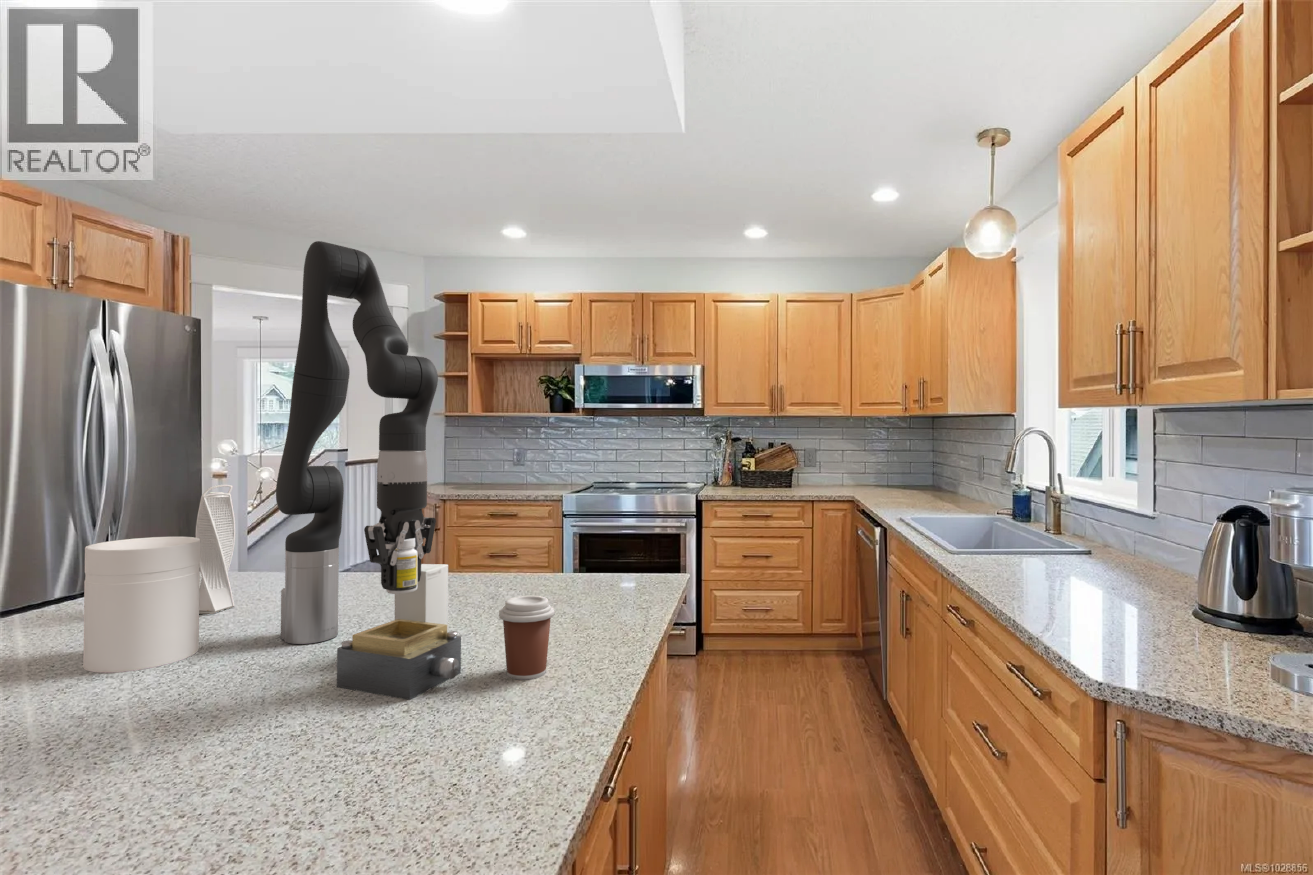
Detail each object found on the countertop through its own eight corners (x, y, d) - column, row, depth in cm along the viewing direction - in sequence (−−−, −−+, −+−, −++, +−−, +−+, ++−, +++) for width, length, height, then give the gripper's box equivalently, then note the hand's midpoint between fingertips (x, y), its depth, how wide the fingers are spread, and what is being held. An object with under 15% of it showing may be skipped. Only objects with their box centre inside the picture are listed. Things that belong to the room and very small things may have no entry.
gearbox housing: (336, 687, 101) (337, 635, 101) (392, 662, 112) (393, 616, 113) (426, 702, 95) (427, 647, 95) (476, 675, 107) (476, 626, 107)
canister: (218, 650, 119) (219, 540, 119) (115, 678, 104) (117, 553, 104) (166, 638, 126) (167, 534, 126) (62, 664, 111) (64, 546, 111)
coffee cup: (506, 686, 102) (506, 609, 102) (492, 668, 110) (492, 597, 110) (561, 677, 106) (562, 603, 106) (544, 660, 114) (545, 591, 114)
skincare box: (424, 662, 113) (425, 572, 113) (390, 659, 114) (391, 570, 114) (449, 647, 121) (450, 563, 121) (417, 645, 123) (418, 561, 123)
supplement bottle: (391, 588, 107) (391, 536, 107) (421, 587, 107) (421, 536, 107) (381, 594, 102) (382, 540, 102) (412, 594, 102) (413, 540, 103)
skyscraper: (212, 604, 152) (213, 484, 152) (243, 605, 151) (245, 484, 151) (181, 613, 143) (182, 486, 144) (214, 615, 142) (215, 486, 143)
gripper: (414, 476, 113) (413, 575, 113) (349, 480, 99) (348, 593, 99) (450, 477, 110) (449, 578, 110) (388, 482, 97) (387, 597, 97)
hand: (401, 585), depth 105 cm, fingers closed on supplement bottle, 4 cm apart
